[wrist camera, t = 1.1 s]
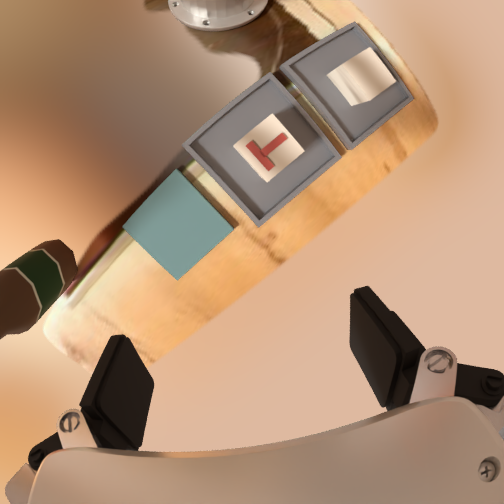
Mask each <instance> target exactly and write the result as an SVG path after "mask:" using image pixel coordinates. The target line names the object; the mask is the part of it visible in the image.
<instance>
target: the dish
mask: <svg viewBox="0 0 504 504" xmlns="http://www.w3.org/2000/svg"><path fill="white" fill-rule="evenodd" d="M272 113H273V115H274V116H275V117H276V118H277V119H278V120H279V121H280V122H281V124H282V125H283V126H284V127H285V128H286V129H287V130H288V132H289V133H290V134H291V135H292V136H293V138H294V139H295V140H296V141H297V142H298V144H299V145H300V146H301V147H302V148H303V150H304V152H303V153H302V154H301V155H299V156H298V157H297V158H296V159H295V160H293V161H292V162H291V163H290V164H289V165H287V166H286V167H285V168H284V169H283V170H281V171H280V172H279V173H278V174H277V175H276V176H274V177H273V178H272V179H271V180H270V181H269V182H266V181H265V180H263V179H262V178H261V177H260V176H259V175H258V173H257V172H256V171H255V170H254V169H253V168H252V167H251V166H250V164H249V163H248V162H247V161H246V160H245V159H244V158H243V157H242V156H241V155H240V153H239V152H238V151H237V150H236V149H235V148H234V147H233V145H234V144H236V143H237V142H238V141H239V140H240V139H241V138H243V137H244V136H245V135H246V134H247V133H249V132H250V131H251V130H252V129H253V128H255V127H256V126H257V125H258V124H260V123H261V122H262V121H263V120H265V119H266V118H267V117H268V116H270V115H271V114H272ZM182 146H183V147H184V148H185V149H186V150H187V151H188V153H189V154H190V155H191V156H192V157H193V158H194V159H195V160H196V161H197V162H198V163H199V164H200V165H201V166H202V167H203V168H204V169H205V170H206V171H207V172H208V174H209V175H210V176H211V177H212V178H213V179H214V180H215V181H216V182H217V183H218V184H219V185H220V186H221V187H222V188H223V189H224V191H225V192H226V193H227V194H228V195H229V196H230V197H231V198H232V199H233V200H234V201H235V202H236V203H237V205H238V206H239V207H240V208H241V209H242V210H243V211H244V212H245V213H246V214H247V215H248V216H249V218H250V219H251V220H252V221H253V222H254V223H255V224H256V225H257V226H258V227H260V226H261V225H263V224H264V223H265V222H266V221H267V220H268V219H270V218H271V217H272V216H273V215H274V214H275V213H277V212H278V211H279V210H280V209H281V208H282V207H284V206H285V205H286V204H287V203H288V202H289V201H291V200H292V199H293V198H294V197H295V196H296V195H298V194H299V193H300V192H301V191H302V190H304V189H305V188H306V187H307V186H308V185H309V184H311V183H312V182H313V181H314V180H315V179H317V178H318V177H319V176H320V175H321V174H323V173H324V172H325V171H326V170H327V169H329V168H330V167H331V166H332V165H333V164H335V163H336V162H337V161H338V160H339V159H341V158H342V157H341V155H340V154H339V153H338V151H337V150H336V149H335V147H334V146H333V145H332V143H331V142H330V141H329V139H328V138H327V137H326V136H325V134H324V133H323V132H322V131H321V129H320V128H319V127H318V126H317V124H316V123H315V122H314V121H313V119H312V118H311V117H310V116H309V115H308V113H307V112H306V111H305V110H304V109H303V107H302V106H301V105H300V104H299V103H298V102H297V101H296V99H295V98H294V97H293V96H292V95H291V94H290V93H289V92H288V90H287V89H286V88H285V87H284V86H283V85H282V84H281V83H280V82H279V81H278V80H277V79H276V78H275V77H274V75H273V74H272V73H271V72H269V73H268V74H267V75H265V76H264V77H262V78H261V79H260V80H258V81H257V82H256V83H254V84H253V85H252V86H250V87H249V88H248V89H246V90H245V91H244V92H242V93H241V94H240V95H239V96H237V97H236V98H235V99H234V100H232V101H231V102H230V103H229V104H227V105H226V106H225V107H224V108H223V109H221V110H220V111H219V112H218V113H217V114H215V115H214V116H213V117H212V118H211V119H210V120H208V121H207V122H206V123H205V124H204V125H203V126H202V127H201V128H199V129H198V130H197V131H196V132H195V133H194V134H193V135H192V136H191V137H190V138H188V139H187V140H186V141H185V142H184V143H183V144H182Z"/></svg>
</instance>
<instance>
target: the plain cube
mask: <svg viewBox="0 0 504 504" xmlns="http://www.w3.org/2000/svg"><path fill="white" fill-rule="evenodd" d="M327 76H328V78H329V79H330V80H331V81H332V82H333V84H334V85H335V86H336V87H337V88H338V90H339V91H340V92H341V93H342V95H343V96H344V97H345V98H346V100H347V101H348V102H349V104H350V105H351V106H353V105H357V104H360V103H363V102H367V101H370V100H372V99H373V98H374V97H376V96H377V95H378V94H380V93H381V92H382V91H384V90H385V89H386V88H388V87H389V86H390V85H392V84H393V83H395V82H396V80H395V79H394V77H393V76H392V75H391V73H390V72H389V70H388V69H387V68H386V66H385V65H384V64H383V62H382V61H381V60H380V59H379V57H378V56H377V55H376V54H375V52H374V51H373V50H372V49H371V47H369V48H367V49H366V50H364V51H362V52H361V53H359V54H357V55H356V56H354V57H353V58H351V59H349V60H348V61H346V62H345V63H343V64H342V65H340V66H339V67H337V68H336V69H334V70H333V71H331V72H330V73H329V74H327Z"/></svg>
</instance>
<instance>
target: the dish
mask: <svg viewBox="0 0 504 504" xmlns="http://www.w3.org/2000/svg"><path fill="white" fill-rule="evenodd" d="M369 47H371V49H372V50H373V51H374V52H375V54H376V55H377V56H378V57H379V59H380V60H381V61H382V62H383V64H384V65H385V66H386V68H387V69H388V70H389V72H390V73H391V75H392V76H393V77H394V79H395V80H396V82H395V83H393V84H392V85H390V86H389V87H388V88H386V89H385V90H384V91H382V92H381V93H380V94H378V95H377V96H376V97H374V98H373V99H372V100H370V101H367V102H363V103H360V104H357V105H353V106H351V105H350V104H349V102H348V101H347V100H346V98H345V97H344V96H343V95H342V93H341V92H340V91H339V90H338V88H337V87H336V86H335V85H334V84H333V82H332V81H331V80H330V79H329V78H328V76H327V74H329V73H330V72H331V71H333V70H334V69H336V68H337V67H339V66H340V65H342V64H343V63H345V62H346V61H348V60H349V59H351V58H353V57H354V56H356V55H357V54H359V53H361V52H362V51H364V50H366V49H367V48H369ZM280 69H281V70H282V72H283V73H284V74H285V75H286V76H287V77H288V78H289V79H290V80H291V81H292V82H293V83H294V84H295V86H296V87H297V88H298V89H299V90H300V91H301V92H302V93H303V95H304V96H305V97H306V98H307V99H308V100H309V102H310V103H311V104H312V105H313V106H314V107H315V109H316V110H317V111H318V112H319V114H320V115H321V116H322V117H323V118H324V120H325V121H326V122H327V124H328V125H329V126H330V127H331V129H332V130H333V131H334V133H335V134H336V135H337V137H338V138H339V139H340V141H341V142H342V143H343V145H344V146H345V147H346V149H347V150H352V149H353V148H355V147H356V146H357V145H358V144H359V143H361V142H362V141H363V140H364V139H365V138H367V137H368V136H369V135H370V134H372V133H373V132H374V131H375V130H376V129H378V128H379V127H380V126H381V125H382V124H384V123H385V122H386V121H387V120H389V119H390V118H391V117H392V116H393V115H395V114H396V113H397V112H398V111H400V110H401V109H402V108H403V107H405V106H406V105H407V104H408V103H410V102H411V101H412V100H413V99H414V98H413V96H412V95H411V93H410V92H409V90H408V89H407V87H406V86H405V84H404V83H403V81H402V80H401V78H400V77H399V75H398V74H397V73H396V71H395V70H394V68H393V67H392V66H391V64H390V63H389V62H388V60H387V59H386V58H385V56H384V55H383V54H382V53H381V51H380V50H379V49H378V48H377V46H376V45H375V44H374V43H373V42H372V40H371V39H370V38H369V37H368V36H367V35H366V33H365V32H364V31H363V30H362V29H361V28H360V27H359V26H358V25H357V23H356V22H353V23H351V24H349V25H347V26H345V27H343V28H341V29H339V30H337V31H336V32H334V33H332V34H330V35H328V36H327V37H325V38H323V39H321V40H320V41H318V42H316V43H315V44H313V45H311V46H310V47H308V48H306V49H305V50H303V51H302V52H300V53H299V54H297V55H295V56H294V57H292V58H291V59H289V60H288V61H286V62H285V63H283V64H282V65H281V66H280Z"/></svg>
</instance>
